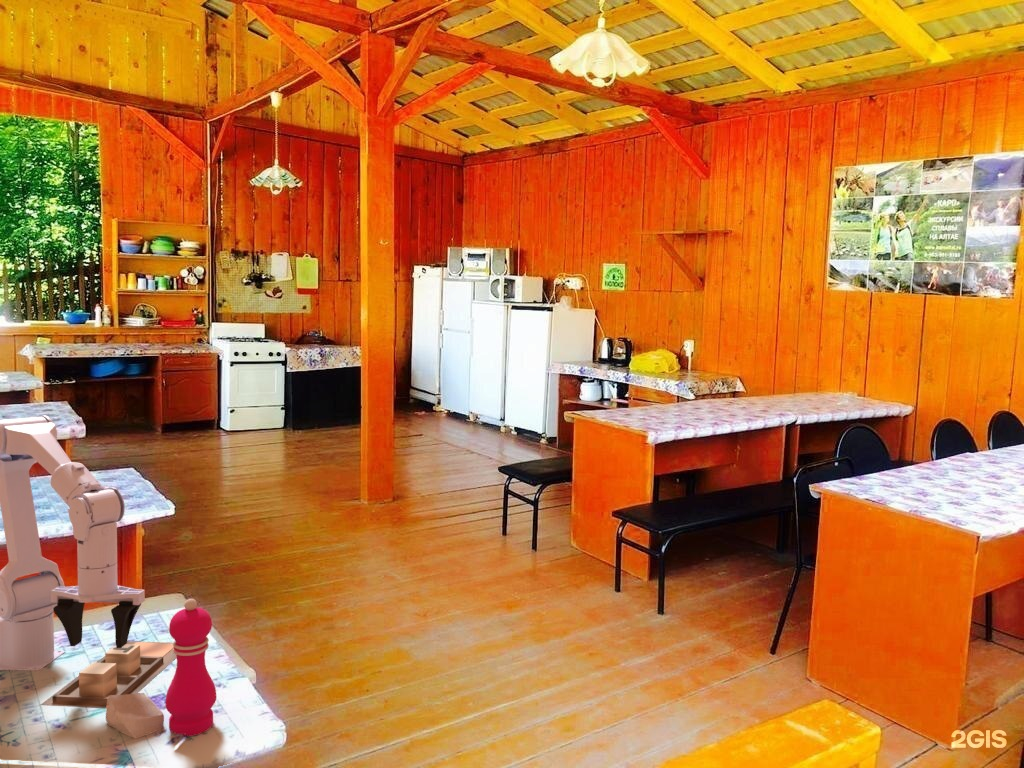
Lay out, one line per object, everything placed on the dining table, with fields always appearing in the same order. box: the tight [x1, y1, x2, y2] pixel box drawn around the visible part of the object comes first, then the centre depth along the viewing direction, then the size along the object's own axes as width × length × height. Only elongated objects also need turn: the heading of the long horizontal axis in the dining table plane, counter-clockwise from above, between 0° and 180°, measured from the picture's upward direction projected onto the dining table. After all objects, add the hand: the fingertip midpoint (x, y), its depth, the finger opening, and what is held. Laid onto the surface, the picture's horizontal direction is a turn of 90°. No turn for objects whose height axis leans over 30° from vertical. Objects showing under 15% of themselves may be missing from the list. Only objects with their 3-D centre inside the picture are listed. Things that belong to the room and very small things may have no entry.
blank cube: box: [78, 661, 117, 697], centre depth 127 cm, size 4×4×4 cm
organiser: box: [40, 640, 177, 709], centre depth 135 cm, size 13×25×2 cm, turn 178°
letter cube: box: [104, 644, 140, 675], centre depth 135 cm, size 4×4×4 cm
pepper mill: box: [164, 598, 217, 737], centre depth 118 cm, size 7×7×20 cm
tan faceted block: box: [105, 692, 165, 739], centre depth 118 cm, size 10×6×6 cm, turn 40°
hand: (98, 644), depth 127 cm, fingers open, 7 cm apart
